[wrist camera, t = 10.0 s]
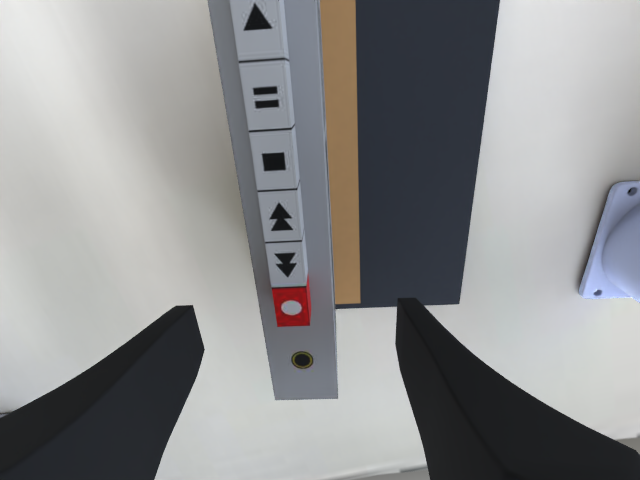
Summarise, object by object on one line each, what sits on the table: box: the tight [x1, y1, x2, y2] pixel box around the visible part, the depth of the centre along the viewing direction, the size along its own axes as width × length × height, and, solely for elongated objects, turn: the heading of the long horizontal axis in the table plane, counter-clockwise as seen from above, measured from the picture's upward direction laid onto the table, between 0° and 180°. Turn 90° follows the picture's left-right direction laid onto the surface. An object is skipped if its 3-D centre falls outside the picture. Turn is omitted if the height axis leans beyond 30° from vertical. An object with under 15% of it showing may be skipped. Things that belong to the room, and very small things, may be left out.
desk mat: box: [320, 0, 500, 309], centre depth 20 cm, size 13×20×1 cm, turn 4°
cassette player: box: [208, 0, 338, 400], centre depth 15 cm, size 16×3×10 cm, turn 4°
